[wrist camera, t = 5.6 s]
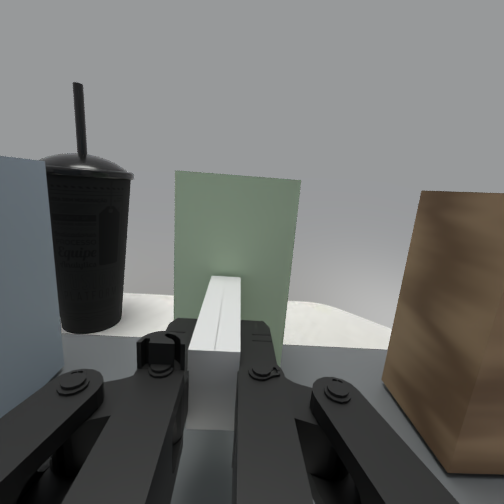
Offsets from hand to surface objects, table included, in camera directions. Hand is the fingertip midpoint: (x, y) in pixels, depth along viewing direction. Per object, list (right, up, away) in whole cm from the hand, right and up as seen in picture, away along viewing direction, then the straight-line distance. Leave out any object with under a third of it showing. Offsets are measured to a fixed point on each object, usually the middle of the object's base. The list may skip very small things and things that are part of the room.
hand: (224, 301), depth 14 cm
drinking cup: (-14, -4, +12) cm, 18 cm away
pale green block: (0, -5, +4) cm, 7 cm away
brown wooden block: (+13, -7, +1) cm, 14 cm away
